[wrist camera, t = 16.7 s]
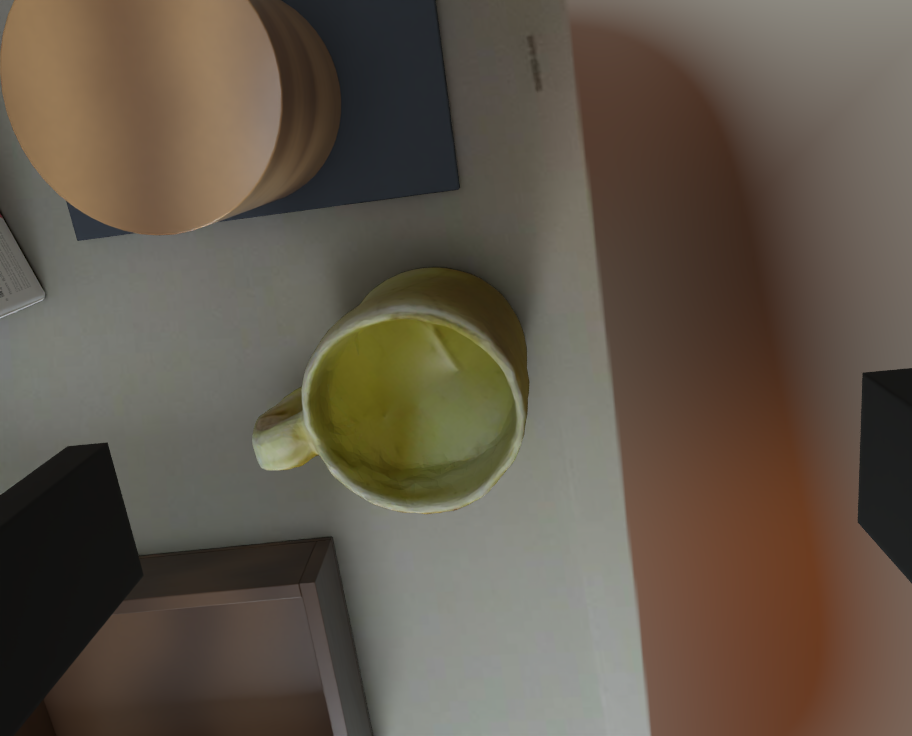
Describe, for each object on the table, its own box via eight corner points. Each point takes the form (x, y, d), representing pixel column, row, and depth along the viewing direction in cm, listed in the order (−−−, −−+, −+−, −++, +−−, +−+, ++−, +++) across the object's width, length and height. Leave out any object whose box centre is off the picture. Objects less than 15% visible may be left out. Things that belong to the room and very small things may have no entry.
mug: (535, 211, 34) (503, 342, 26) (558, 394, 40) (537, 545, 32) (280, 231, 37) (184, 353, 29) (337, 398, 43) (269, 536, 35)
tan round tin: (320, -29, 32) (248, -93, 23) (357, 190, 35) (307, 216, 25) (114, 4, 33) (-40, -44, 23) (165, 216, 35) (46, 251, 26)
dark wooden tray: (332, 536, 41) (315, 582, 37) (379, 767, 46) (368, 830, 42) (-12, 570, 43) (-65, 618, 39) (67, 790, 48) (27, 853, 43)
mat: (428, -54, 33) (426, -59, 32) (460, 187, 35) (459, 189, 35) (24, 11, 34) (11, 8, 33) (87, 238, 37) (77, 241, 36)
